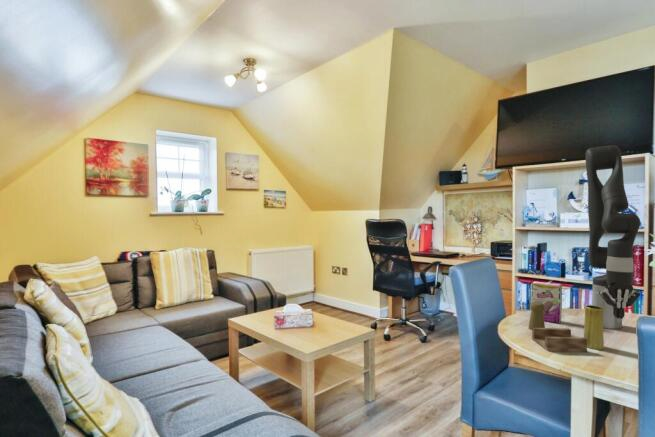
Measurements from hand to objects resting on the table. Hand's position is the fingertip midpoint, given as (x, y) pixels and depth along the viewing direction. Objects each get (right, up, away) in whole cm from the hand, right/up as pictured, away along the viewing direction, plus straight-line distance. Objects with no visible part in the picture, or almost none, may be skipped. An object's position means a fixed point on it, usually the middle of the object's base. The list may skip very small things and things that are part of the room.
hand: (618, 317), depth 129 cm
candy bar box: (-7, -10, +32) cm, 34 cm away
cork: (-18, -10, +20) cm, 29 cm away
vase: (-8, -11, +1) cm, 14 cm away
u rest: (-20, -11, +2) cm, 23 cm away
